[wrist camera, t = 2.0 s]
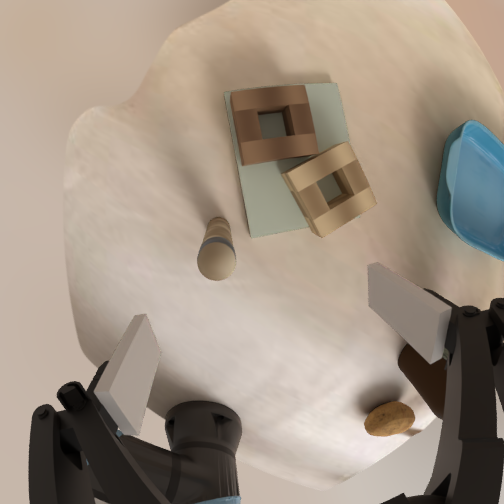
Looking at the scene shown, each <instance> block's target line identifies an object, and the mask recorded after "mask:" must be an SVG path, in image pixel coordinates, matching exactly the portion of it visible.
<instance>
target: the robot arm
mask: <svg viewBox="0 0 504 504" xmlns="http://www.w3.org/2000/svg"><path fill="white" fill-rule="evenodd" d="M368 296H369V307H370V308H372V309H373V310H374V311H375V312H376V313H377V314H378V315H379V316H380V317H381V318H382V319H383V320H384V321H386V322H387V323H388V324H389V325H390V326H391V327H392V328H393V329H394V330H395V331H396V332H397V333H398V334H399V335H400V336H401V337H403V338H404V339H405V340H406V341H407V342H408V343H409V344H410V345H411V346H412V347H413V348H414V349H415V350H416V351H417V352H418V353H419V354H420V355H421V356H422V357H423V358H424V359H425V360H426V361H427V362H428V363H429V364H432V363H434V362H436V361H437V360H439V359H441V358H442V355H443V351H444V348H446V349H447V350H448V351H449V354H448V358H447V361H446V365H445V369H444V370H446V369H447V383H446V397H445V407H444V415H443V423H442V429H441V436H440V441H439V447H438V452H437V456H436V461H435V465H434V469H433V473H432V477H431V479H430V482H429V484H428V486H427V488H426V490H425V492H424V495H418V496H412V497H407V498H406V496H405V494H404V493H402V494H400V495H398V496H396V497H394V498H392V499H390V500H388V501H386V502H383V503H381V504H498V502H499V497H500V491H501V484H502V476H503V464H504V440H503V439H502V438H498V437H497V412H496V396H495V395H496V394H495V388H496V391H497V393H498V396H499V399H500V402H501V405H502V408H503V411H504V343H503V340H504V298H496V299H493V300H492V301H491V304H490V309H489V310H485V311H480V310H479V309H478V308H477V307H474V306H463V307H458V306H456V305H455V304H453V303H452V302H450V301H449V300H447V299H444V297H442V296H439V294H437V293H436V292H434V291H432V290H429V289H425V288H424V289H422V288H420V287H419V286H417V285H415V284H414V283H412V282H410V281H409V280H407V279H406V278H404V277H402V276H401V275H399V274H397V273H396V272H394V271H392V270H390V269H389V268H387V267H385V266H384V265H382V264H380V263H374V264H370V265H368ZM161 353H162V352H161V350H160V347H159V345H158V342H157V340H156V338H155V335H154V333H153V330H152V327H151V325H150V322H149V320H148V317H147V314H141V315H135V316H134V318H133V319H132V321H131V323H130V324H129V326H128V328H127V330H126V332H125V333H124V335H123V337H122V339H121V340H120V342H119V344H118V346H117V348H116V350H115V351H114V353H113V355H112V357H111V359H110V361H105V362H104V363H103V364H102V365H101V366H100V367H99V368H98V370H97V372H96V375H95V376H94V378H93V380H92V381H91V383H90V385H89V387H88V389H87V391H85V389H84V388H83V386H82V385H81V383H80V382H76V381H74V382H69V383H66V384H65V385H64V386H62V387H61V388H60V389H59V390H58V392H57V398H58V400H59V401H60V402H61V404H62V405H63V406H64V408H65V409H66V410H63V411H59V412H56V411H55V409H54V408H53V407H52V406H51V405H49V404H45V405H42V406H40V407H38V408H37V409H36V410H35V411H34V413H33V416H32V424H31V432H30V444H29V500H30V504H240V500H241V497H240V494H239V486H238V477H237V468H236V459H235V454H236V451H237V448H238V445H239V442H240V439H241V436H242V425H241V420H240V418H239V416H238V415H237V414H236V413H235V412H234V411H232V410H231V409H229V408H227V407H225V406H223V405H220V404H217V403H213V402H206V401H192V402H186V403H182V404H179V405H177V406H175V407H173V408H172V409H171V410H170V411H169V412H168V414H167V416H166V422H165V431H166V435H167V438H168V442H169V445H170V449H171V451H169V450H166V449H163V448H161V447H158V446H155V445H153V444H150V443H148V442H145V441H142V440H140V439H138V438H135V437H133V436H131V435H139V433H140V429H141V426H142V421H143V418H144V414H145V410H146V406H147V402H148V399H149V395H150V391H151V388H152V384H153V380H154V377H155V373H156V370H157V367H158V363H159V360H160V356H161ZM118 428H119V429H120V430H121V431H120V430H117V429H118Z"/></svg>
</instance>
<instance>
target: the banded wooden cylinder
mask: <svg viewBox="0 0 504 504" xmlns="http://www.w3.org/2000/svg"><path fill="white" fill-rule="evenodd" d="M197 264H198V268H199V270H200V272H201V273H202V275H204V276H205V277H206V278H208V279H210V280H215V281H219V280H223V279H226V278H227V277H229V276H230V275H231V274H232V273H233V271H234V269H235V266H236V255H235V250H234V247H233V242H232V237H231V231H230V226H229V223H228V222H227V220H225V219H224V218H221V217H216V218H214V219H212V220H211V221H210V222H209V224H208V227H207V230H206V233H205V236H204V239H203V243H202V245H201V248H200V250H199V254H198V258H197Z"/></svg>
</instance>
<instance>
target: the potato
mask: <svg viewBox="0 0 504 504" xmlns="http://www.w3.org/2000/svg"><path fill="white" fill-rule="evenodd" d="M414 421H415V415H414V412H413V410H412V409H411V408H410V407H409V406H407V405H405V404H403V403H401V402H397V401H393V402H389V403H386V404H383V405H381V406H379V407H377V408H376V409H374V410H373V411H372V412H371V413H369V415H368V417H367V418H366V420H365V423H364V426H365V429H366V431H367V433H369V434H370V435H373V436H390V435H394V434H399V433H402V432H404V431H406V430H408V429H409V428H410V427H411V426H412V425H413V423H414Z"/></svg>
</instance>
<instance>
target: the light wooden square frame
mask: <svg viewBox="0 0 504 504" xmlns="http://www.w3.org/2000/svg"><path fill="white" fill-rule="evenodd" d="M331 173H332V174H333V176H334V178H335V180H336V182H337V184H338V186H339V188H340V190H341V192H342V194H340V195H339V196H337V197H335V198H334V199H332V200H330V201H328V202H326V200H325V198H324V196H323V194H322V192H321V191H320V189H319V187H318V185H317V183H316V182H317V181H318V180H320V179H322V178H324V177H325V176H327V175H329V174H331ZM281 176H282V178H283V179H284V181H285V183H286V185H287V186H288V188H289V190H290V192H291V194H292V195H293V197H294V199H295V201H296V203H297V205H298V206H299V208H300V210H301V212H302V214H303V216H304V218H305V220H306V222H307V223H308V225H309V227H310V229H311V231H312V232H313V233H314V234H316V235H318V236H319V237H321V238H323V237H325V236H326V235H328V234H330V233H331V232H333V231H335V230H336V229H338V228H339V227H341V226H343V225H344V224H346V223H347V222H349V221H351V220H352V219H354V218H355V217H357V216H359V215H360V214H362V213H363V212H365V211H367V210H368V209H370V208H371V207H373V206H374V205H376V204H377V202H376V199H375V197H374V195H373V192H372V190H371V188H370V185H369V183H368V181H367V179H366V177H365V174H364V172H363V170H362V168H361V166H360V164H359V162H358V160H357V158H356V156H355V154H354V152H353V150H352V148H351V146H350V144H349V142H348V141H346V142H342V143H339V144H335V145H333V146H331V147H329V148H328V149H326V150H324V151H322V152H320V153H319V154H316V155H314V156H312V157H311V158H309V159H307V160H305V161H303V162H301V163H299V164H298V165H296V166H294V167H292V168H290V169H288V170H287V171H285V172H283V173H281Z"/></svg>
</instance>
